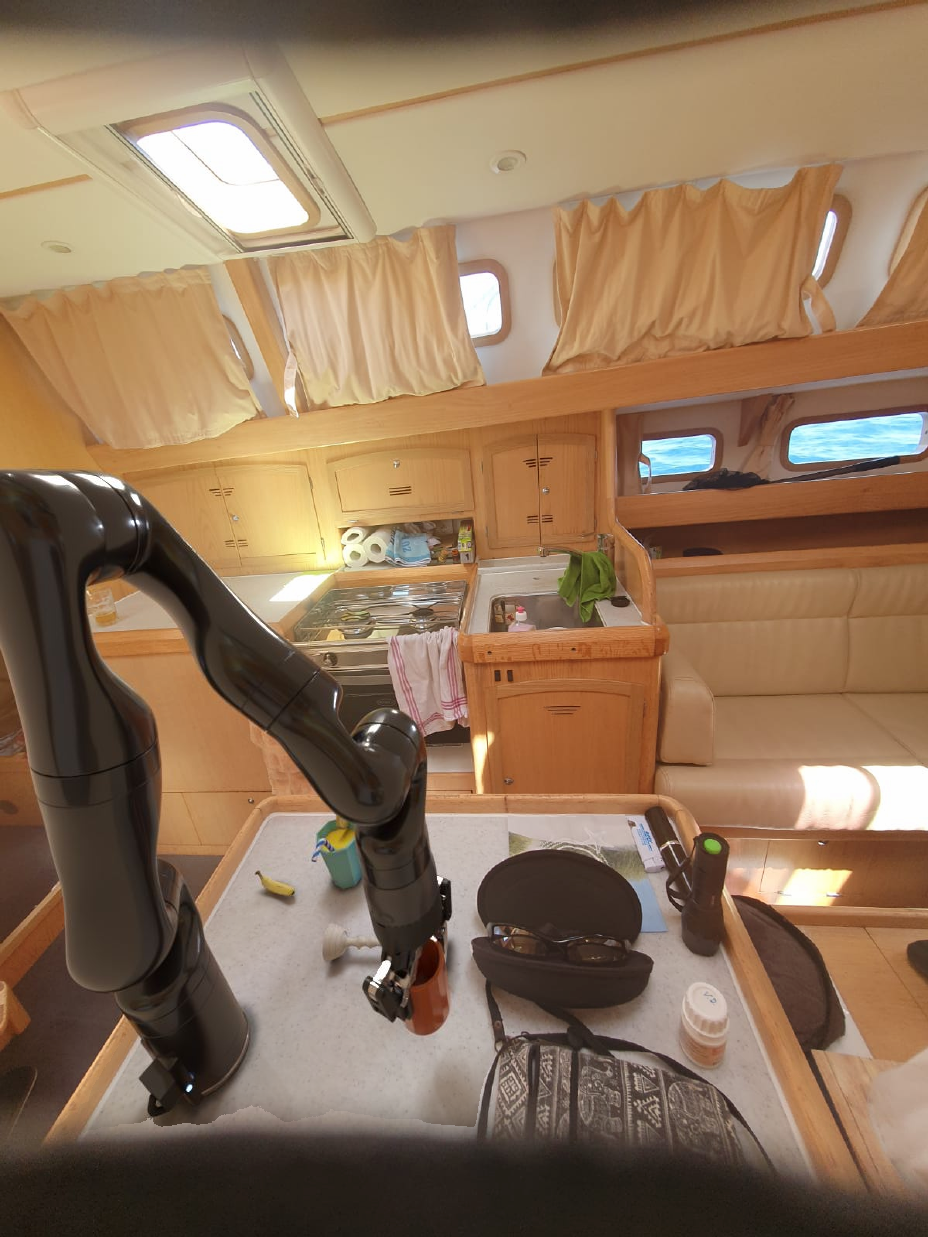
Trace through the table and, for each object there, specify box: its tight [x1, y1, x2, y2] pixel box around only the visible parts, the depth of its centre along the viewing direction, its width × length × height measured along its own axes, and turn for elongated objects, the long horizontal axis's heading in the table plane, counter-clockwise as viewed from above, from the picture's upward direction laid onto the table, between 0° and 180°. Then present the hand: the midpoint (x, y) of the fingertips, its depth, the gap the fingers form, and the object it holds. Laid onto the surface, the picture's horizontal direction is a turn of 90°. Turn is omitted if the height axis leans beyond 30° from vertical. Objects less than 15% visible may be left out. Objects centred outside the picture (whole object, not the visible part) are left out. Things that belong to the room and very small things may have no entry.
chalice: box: [322, 920, 448, 964], centre depth 69 cm, size 7×7×18 cm
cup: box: [311, 814, 362, 890], centre depth 79 cm, size 14×8×15 cm, turn 173°
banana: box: [254, 870, 296, 897], centre depth 80 cm, size 8×2×4 cm, turn 69°
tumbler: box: [395, 936, 452, 1036], centre depth 53 cm, size 6×6×9 cm
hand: (421, 982), depth 53 cm, fingers closed on tumbler, 6 cm apart
